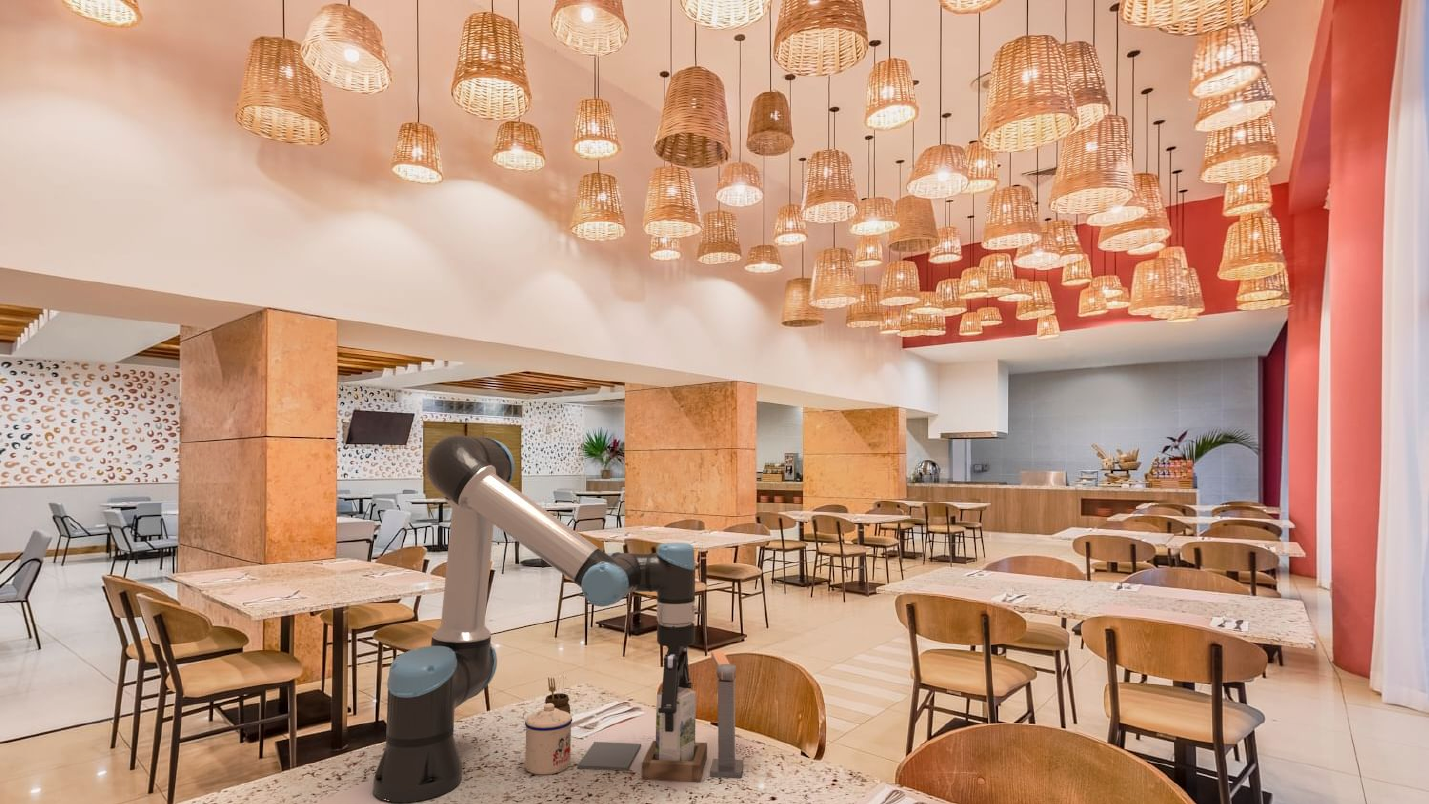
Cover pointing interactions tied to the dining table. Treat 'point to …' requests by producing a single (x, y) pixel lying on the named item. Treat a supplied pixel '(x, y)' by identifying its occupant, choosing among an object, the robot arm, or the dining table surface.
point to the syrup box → (685, 728)
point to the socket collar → (674, 766)
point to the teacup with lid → (548, 740)
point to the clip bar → (723, 666)
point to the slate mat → (609, 756)
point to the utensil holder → (558, 697)
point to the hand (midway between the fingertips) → (675, 735)
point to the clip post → (726, 734)
